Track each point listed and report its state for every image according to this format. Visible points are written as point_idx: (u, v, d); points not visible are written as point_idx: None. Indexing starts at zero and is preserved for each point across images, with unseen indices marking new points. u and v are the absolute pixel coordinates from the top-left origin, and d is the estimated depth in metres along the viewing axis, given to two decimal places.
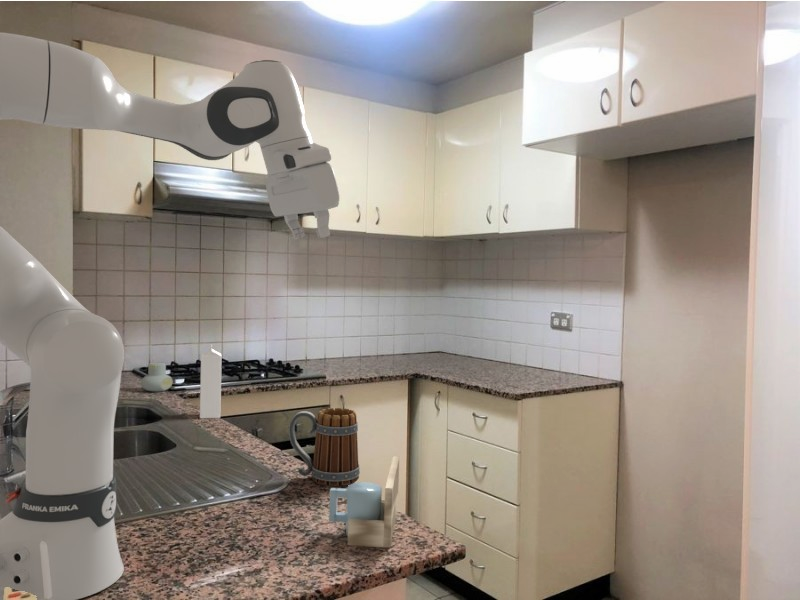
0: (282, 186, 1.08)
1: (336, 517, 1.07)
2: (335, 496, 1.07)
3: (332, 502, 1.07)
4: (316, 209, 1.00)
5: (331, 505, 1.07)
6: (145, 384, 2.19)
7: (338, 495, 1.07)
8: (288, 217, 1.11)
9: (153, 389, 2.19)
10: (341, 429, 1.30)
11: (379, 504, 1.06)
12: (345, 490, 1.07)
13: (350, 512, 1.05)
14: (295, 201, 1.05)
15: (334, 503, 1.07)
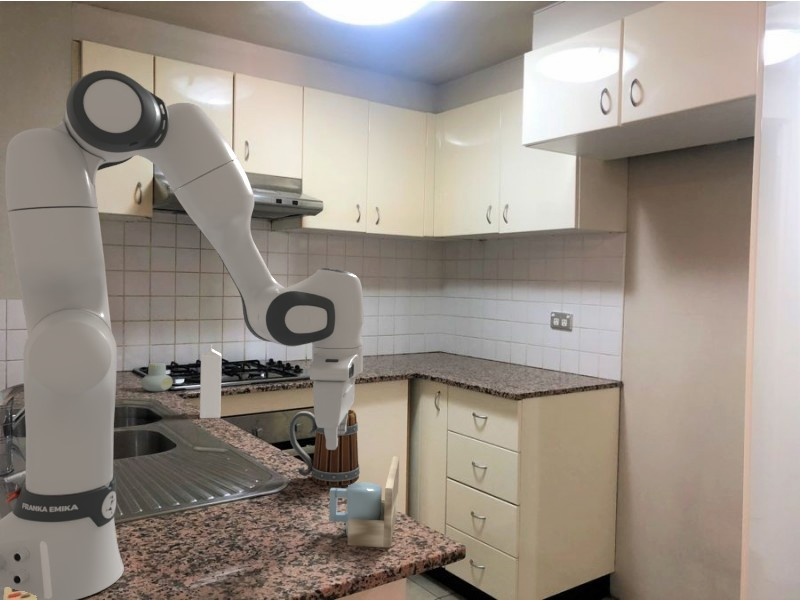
0: None
1: (336, 517, 1.07)
2: (335, 496, 1.07)
3: (332, 502, 1.07)
4: None
5: (331, 505, 1.07)
6: (145, 384, 2.19)
7: (338, 495, 1.07)
8: None
9: (153, 389, 2.19)
10: None
11: (379, 504, 1.06)
12: (345, 490, 1.07)
13: (350, 512, 1.05)
14: None
15: (334, 503, 1.07)
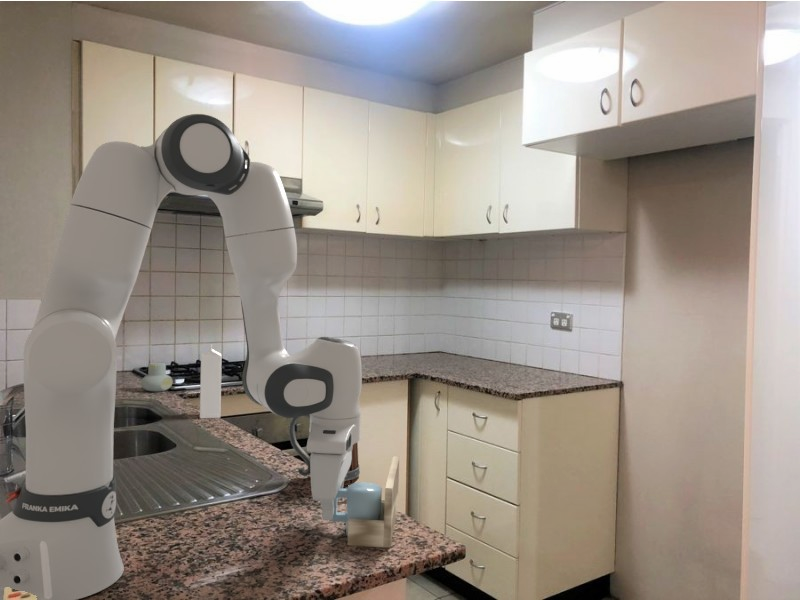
0: None
1: (336, 517, 1.07)
2: None
3: None
4: None
5: None
6: (145, 384, 2.19)
7: (338, 495, 1.07)
8: None
9: (153, 389, 2.19)
10: None
11: (379, 504, 1.06)
12: (345, 490, 1.07)
13: (350, 512, 1.05)
14: None
15: (334, 503, 1.07)
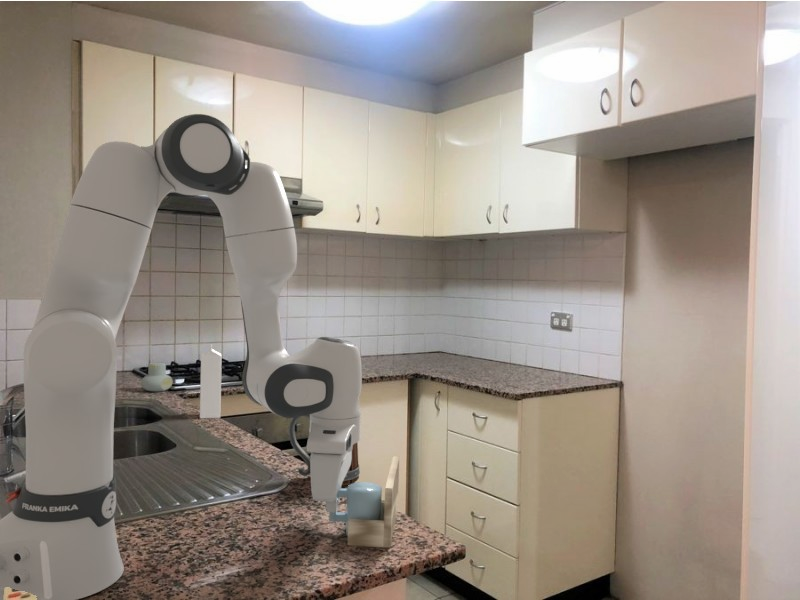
0: None
1: (336, 517, 1.07)
2: None
3: None
4: None
5: None
6: (145, 384, 2.19)
7: (338, 495, 1.07)
8: None
9: (153, 389, 2.19)
10: None
11: (379, 504, 1.06)
12: (345, 490, 1.07)
13: (350, 512, 1.05)
14: None
15: None
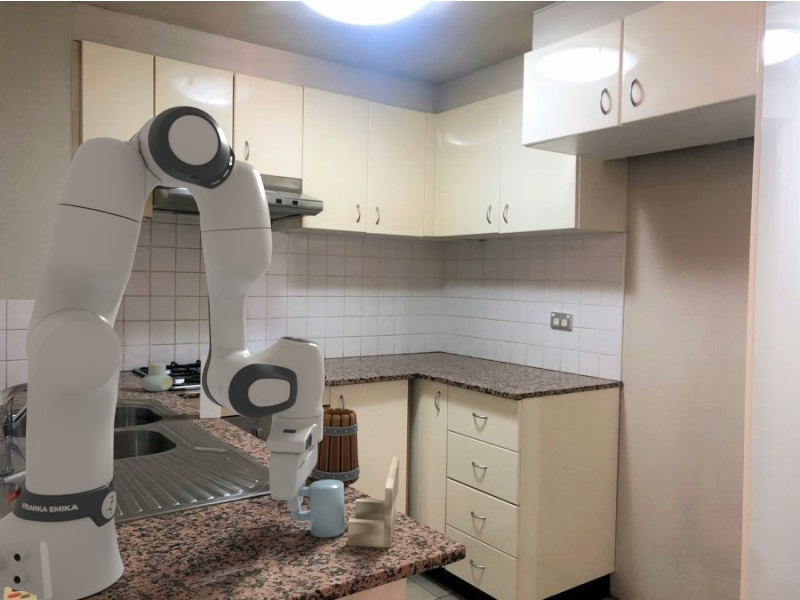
0: None
1: (300, 516, 1.07)
2: None
3: None
4: None
5: None
6: (145, 384, 2.19)
7: (300, 494, 1.07)
8: None
9: (153, 389, 2.19)
10: (341, 429, 1.30)
11: (341, 500, 1.06)
12: (307, 488, 1.07)
13: (312, 510, 1.05)
14: None
15: None
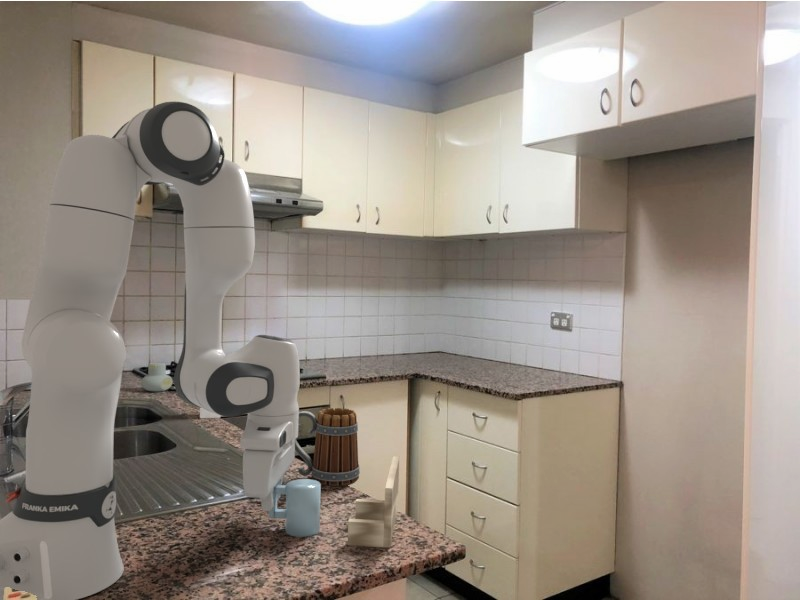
0: None
1: (275, 514, 1.07)
2: (274, 493, 1.07)
3: None
4: None
5: None
6: (145, 384, 2.19)
7: (277, 492, 1.07)
8: None
9: (153, 389, 2.19)
10: (341, 429, 1.30)
11: (317, 501, 1.06)
12: (284, 487, 1.07)
13: (288, 509, 1.06)
14: None
15: None
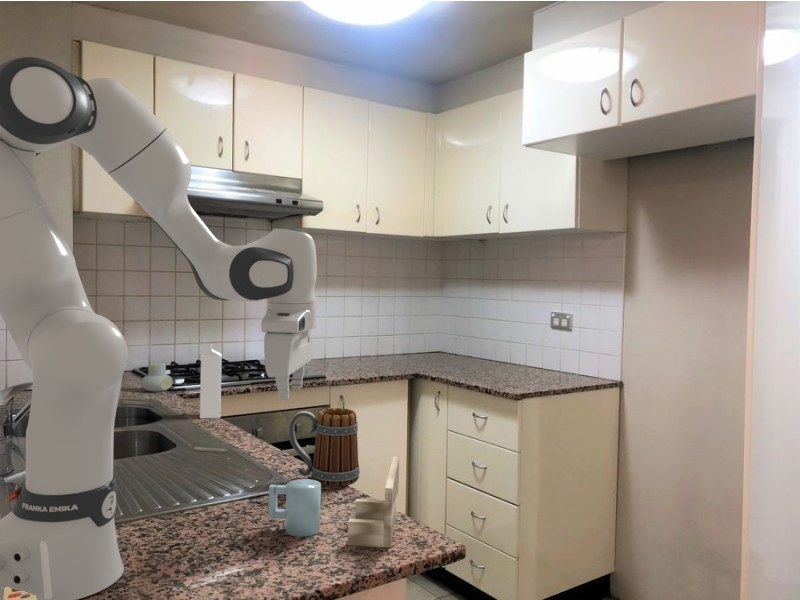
0: None
1: (275, 514, 1.07)
2: (274, 493, 1.07)
3: (271, 499, 1.07)
4: None
5: (270, 502, 1.07)
6: (145, 384, 2.19)
7: (277, 492, 1.07)
8: None
9: (153, 389, 2.19)
10: (341, 429, 1.30)
11: (317, 501, 1.06)
12: (284, 487, 1.07)
13: (288, 508, 1.06)
14: None
15: (274, 500, 1.07)
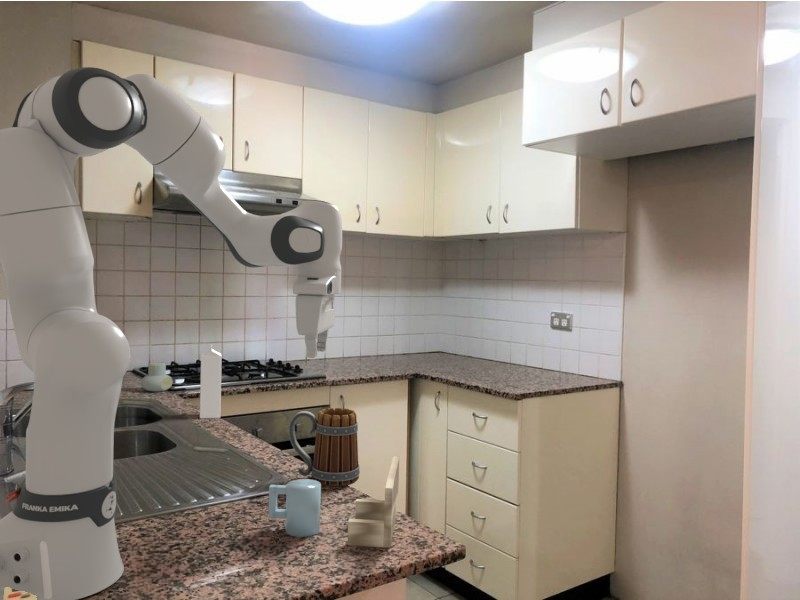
0: None
1: (275, 514, 1.07)
2: (274, 493, 1.07)
3: (271, 499, 1.07)
4: None
5: (270, 502, 1.07)
6: (145, 384, 2.19)
7: (277, 492, 1.07)
8: None
9: (153, 389, 2.19)
10: (341, 429, 1.30)
11: (317, 501, 1.06)
12: (284, 487, 1.07)
13: (288, 509, 1.06)
14: None
15: (274, 500, 1.07)
